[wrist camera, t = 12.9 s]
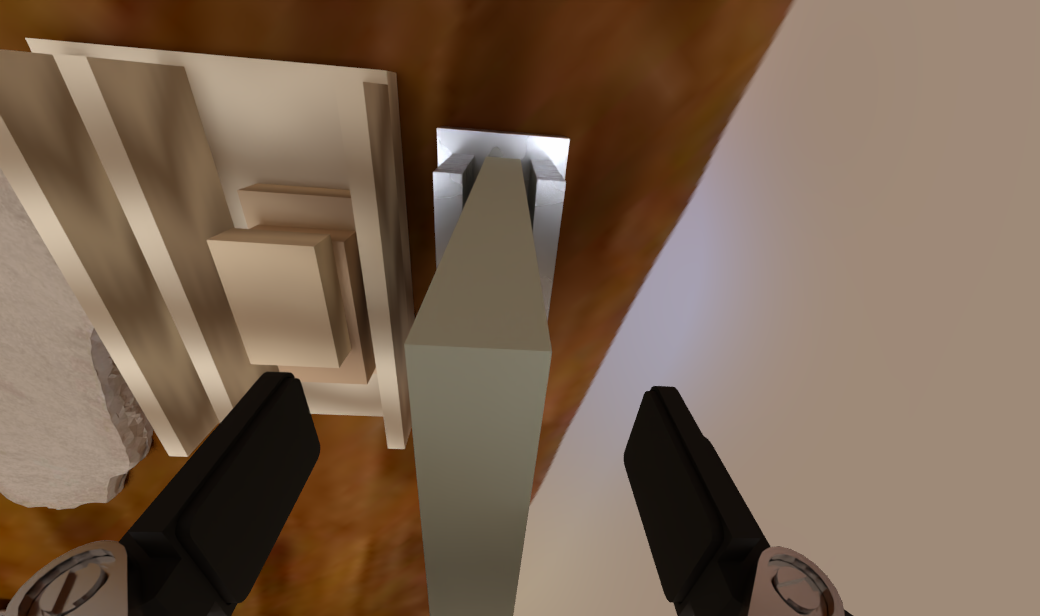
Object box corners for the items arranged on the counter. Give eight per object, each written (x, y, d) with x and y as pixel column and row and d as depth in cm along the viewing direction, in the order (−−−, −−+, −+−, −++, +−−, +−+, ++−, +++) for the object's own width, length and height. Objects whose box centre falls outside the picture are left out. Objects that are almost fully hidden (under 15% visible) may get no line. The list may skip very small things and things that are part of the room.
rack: (65, 42, 16) (-129, 18, 11) (396, 72, 17) (349, 61, 12) (217, 393, 26) (150, 461, 21) (421, 401, 26) (401, 468, 22)
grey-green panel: (485, 156, 17) (404, 344, 4) (520, 159, 17) (551, 351, 4) (480, 362, 23) (439, 711, 10) (505, 363, 23) (498, 711, 10)
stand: (442, 125, 18) (409, 138, 12) (565, 136, 18) (590, 152, 12) (448, 358, 25) (429, 436, 19) (537, 362, 25) (545, 440, 19)
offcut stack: (257, 183, 17) (183, 207, 13) (365, 191, 18) (323, 217, 14) (302, 354, 22) (258, 408, 18) (386, 357, 23) (360, 412, 19)
